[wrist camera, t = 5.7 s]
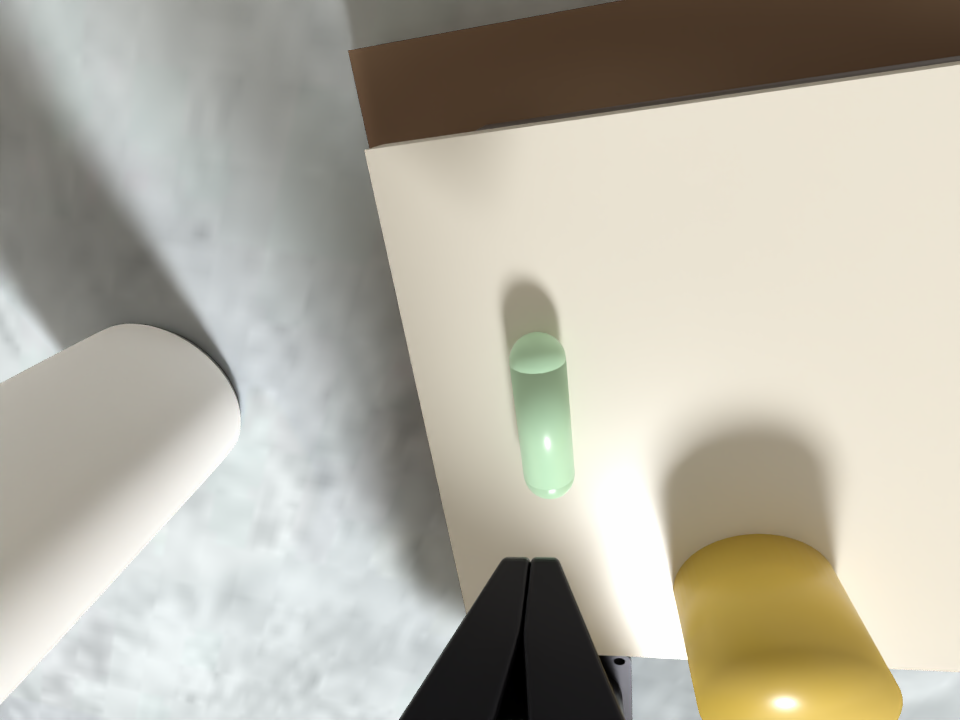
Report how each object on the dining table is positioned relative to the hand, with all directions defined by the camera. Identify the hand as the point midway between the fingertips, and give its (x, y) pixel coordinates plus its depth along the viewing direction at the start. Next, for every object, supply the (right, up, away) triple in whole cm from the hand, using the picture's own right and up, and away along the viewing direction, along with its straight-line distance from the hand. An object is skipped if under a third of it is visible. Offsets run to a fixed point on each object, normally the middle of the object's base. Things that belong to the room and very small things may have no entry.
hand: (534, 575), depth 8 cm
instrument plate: (+6, +2, +5) cm, 8 cm away
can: (-13, +2, +13) cm, 18 cm away
